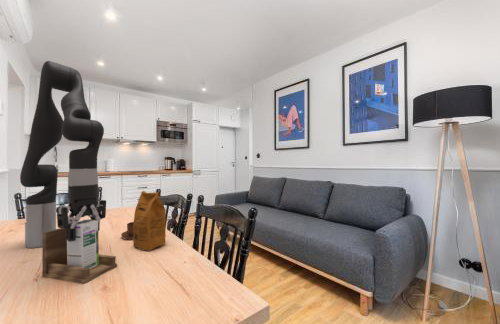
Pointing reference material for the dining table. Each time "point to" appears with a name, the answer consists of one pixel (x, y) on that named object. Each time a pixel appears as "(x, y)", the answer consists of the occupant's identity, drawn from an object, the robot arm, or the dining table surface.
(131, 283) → the dining table surface
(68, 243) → the syrup box
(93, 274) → the small wooden shelf
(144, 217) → the coffee package
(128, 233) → the cup and saucer
